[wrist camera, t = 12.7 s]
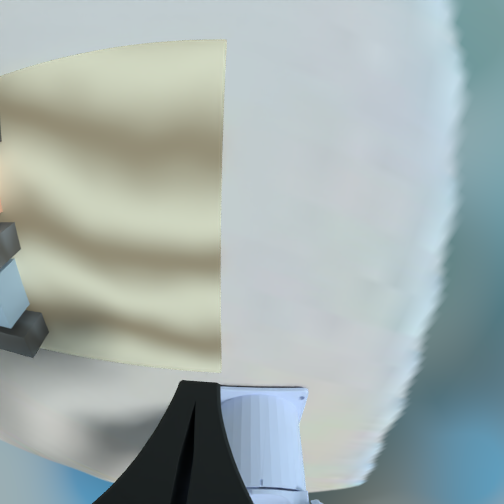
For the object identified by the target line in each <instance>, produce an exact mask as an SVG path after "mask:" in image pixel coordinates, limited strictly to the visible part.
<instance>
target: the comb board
mask: <svg viewBox="0 0 504 504" xmlns="http://www.w3.org/2000/svg"><path fill="white" fill-rule="evenodd" d="M226 47H227V40H222V39H218V40H182V41H167V42H155V43H145V44H136V45H128V46H121V47H114V48H108V49H102V50H96V51H91V52H86V53H81V54H76V55H72V56H67V57H63V58H59V59H55V60H51V61H47V62H44V63H40V64H36V65H33V66H30V67H26V68H23V69H20V70H17V71H14V72H11V73H8V74H5V75H2V76H0V200H1V205H2V210H3V212H1V213H0V268H1V267H2V266H3V265H5V264H6V263H7V262H8V261H9V260H10V259H11V258H13V259H15V261H16V265H17V268H18V271H19V274H20V277H21V281H22V284H23V287H24V289H25V292H26V295H27V298H28V301H29V303H30V305H29V306H28V307H27V308H26V310H25V311H24V312H23V314H22V315H21V316H20V317H19V319H18V320H17V321H16V323H15V324H14V325H13V327H12V328H7V327H2V326H0V349H3V350H7V351H10V352H14V353H17V354H21V355H25V356H29V357H32V358H34V356H35V354H36V353H37V351H38V349H39V348H41V349H46V350H50V351H55V352H60V353H65V354H70V355H75V356H80V357H86V358H92V359H97V360H104V361H110V362H116V363H123V364H131V365H138V366H146V367H155V368H164V369H174V370H185V371H198V372H212V373H221V292H220V259H221V179H222V141H223V112H224V87H225V66H226Z"/></svg>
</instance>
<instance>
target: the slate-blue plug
mask: <svg viewBox="0 0 504 504" xmlns="http://www.w3.org/2000/svg"><path fill="white" fill-rule="evenodd" d="M29 305H30V303H29V301H28V298H27V295H26V292H25V289H24V287H23V284H22V281H21V277H20V274H19V271H18V268H17V265H16V261H15V259H13V258H11V259H10V260H9V261H8V262H7V263H6V264H5V265H3V266H2V267H1V268H0V326H2V327H7V328H12V327H13V325H14V324H15V323H16V321H17V320H18V319H19V317H20V316H21V315H22V314H23V312H24V311H25V310H26V308H27V307H28V306H29Z"/></svg>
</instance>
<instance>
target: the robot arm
mask: <svg viewBox="0 0 504 504" xmlns="http://www.w3.org/2000/svg"><path fill="white" fill-rule="evenodd" d="M307 397H308V389H306V388H250V387H225V386H220V384H218V383H213V382H199V381H186V380H182V381H180V383H179V385H178V388H177V390H176V392H175V395H174V397H173V399H172V401H171V403H170V405H169V407H168V409H167V410H166V412H165V414H164V416H163V417H162V419H161V421H160V423H159V424H158V426H157V428H156V429H155V431H154V433H153V434H152V436H151V437H150V439H149V440H148V441H147V443H146V444H145V446H144V447H143V449H142V450H141V452H140V453H139V454H138V456H137V457H136V458H135V460H134V461H133V462H132V463H131V464H130V466H129V467H128V468H127V469H126V470H125V472H124V473H123V474H122V475H121V476H120V477H119V478H118V479H117V480H116V482H115V483H114V484H113V485H112V486H111V487H110V488H109V489H108V490H107V491H106V492H104V493H103V494H102V495H101V496H100V497H99V498H98V499H97V500H96V501H95V502H93V503H92V504H309V498H308V491H306V485H305V475H304V466H303V456H302V447H301V438H300V429H299V423H300V420H301V416H302V413H303V410H304V407H305V404H306V400H307ZM311 504H323V503H320V501H319V500H311Z"/></svg>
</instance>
